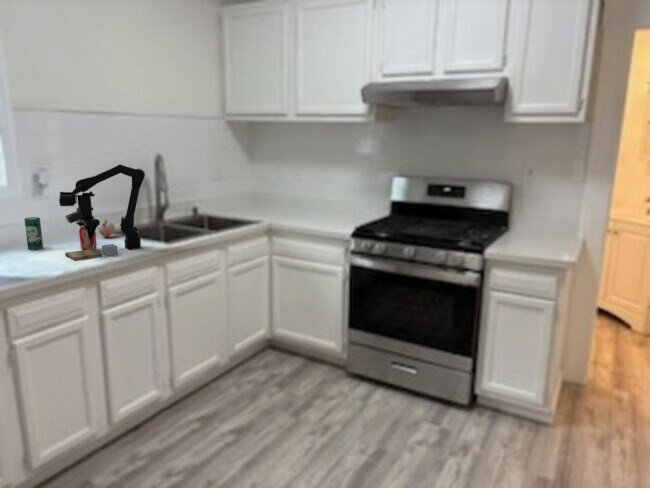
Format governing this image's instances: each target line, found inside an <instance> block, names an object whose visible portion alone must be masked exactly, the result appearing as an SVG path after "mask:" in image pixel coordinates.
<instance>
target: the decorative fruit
mask: <svg viewBox="0 0 650 488" xmlns="http://www.w3.org/2000/svg"><path fill="white" fill-rule="evenodd" d="M97 230H98V233H99V234H100V235H101V236H103V237H105V238H108V237H110V236H111V235H112V234H114V233H115V230H116V227H115V225H114V223H113V222H112V221H109V220H106V218H105V219H104V221H102V222H100V225H98V226H97Z"/></svg>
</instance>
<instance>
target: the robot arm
mask: <svg viewBox="0 0 650 488" xmlns="http://www.w3.org/2000/svg"><path fill="white" fill-rule="evenodd" d="M119 174H122V175H125V176H127V177H130V178H131V188H130V195H129V199H128V202H127V203H128V204H127V208H126V209H127V210H126V214H125V216H122V217H120V219H121V221H120V224H119V227H120V231H121V232H122V233H123V234H125V236H124V237H125V238H124V241H123V242H124V248H125V249H128V250H137V249H143V246H142V245H141V243H142V242H141V241H142V240H141V235H140V234H139V232H140V230H139V229H138V227H136V226H135V214H136V209H137V203H138V199H139V195H140V189H141V187H142V184H143V181H144V180H145V177H146V172H145V171H144V169H142V168H134V167H133V168H132V167H130V166H126V165H123V164H117V165H116V166H113V167H112V168H109V169H107V170H104V171H102V172H100V173H98V174H96V175H93V176H88V177H85V178H81V179H79V180H77V181H76V182H75V188H74V189H73V190H72V191H60V192H59V199H58V202H59V206H60V207H75V205H76V204H77V205H78V207H77V208H76V211H74V212H73V211H72V212H71V213H68V214H66V215H65V216H64V217H65V218H66V220H67V222H68V223H70V224H72V223H75V224H76V225H77V226H79V227H80V226H82V225H84V227H85V228H86V229H87V233H88V237H89V239H92V237H93V235H94V232H96V229H98V226H99V225H100V223H101V222H100V219H98V218H95V216H94V215H93V211H94V207H93V206H92V205H93V204H92V197H96V194H95V193H94V192H93V191H92V190H90V189H92V188H93V187H95V186H96V185H98V184H100V183H101V182H104V181H105V180H108V179H110V178H112V177H113V178H114V177H115V176H116V175H119ZM88 190H90V191H89V192H87V191H88Z"/></svg>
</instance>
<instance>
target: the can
mask: <svg viewBox="0 0 650 488" xmlns="http://www.w3.org/2000/svg"><path fill="white" fill-rule="evenodd" d="M24 226H25V236H26V242H27V249H29V251H39V250H42V249H44V244H43V242H44V241H43V234H42V225H41V217H37V216H35V217H34V216H31V217H26V218H24Z"/></svg>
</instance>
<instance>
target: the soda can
mask: <svg viewBox="0 0 650 488" xmlns="http://www.w3.org/2000/svg"><path fill="white" fill-rule="evenodd" d="M78 234H79V235H78V236H79V244H80V251H81V250H89V249H94V250H96V249H97V246H98V245H97V233H96V231H95V232H94V235H93V237H92V239H89V237H88V233H87V229H86V228H85V227H84V225H82V226H79V230H78Z"/></svg>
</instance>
